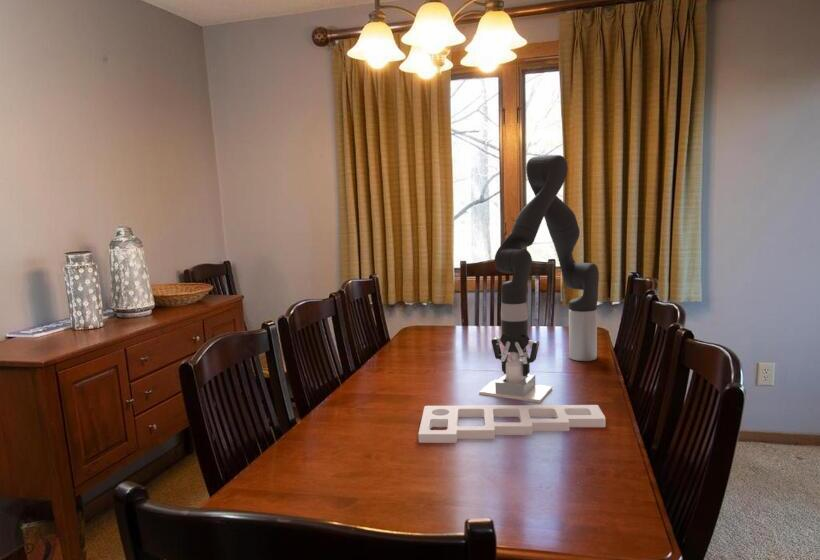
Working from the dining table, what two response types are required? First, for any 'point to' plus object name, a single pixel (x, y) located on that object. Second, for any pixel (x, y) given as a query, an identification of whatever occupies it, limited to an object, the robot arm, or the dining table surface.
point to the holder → (450, 414)
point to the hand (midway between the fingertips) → (515, 374)
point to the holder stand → (517, 389)
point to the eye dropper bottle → (515, 369)
